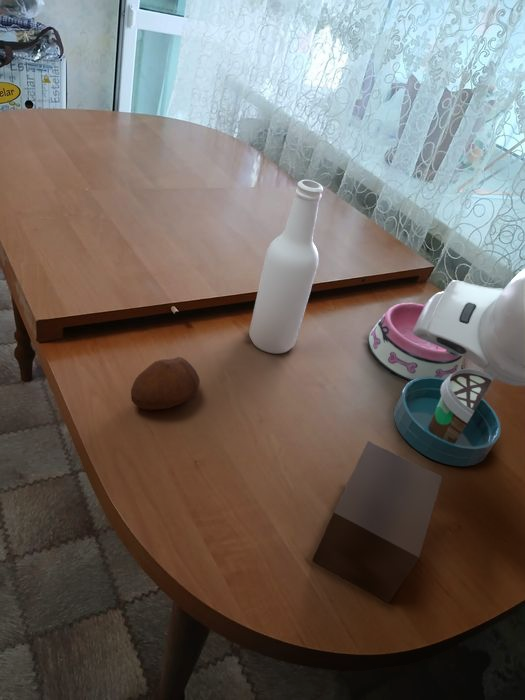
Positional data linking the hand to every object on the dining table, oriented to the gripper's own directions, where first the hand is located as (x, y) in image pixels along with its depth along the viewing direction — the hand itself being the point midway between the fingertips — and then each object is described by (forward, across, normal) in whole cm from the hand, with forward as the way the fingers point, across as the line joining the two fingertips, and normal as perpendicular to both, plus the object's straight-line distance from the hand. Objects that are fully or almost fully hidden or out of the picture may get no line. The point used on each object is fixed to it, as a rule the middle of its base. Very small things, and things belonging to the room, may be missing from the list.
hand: (490, 364), depth 67 cm
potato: (+9, +39, +23) cm, 46 cm away
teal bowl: (+24, 0, +7) cm, 26 cm away
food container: (+24, 0, +7) cm, 25 cm away
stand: (+5, +4, +27) cm, 27 cm away
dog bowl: (+38, +9, -5) cm, 39 cm away
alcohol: (+27, +33, +6) cm, 43 cm away
